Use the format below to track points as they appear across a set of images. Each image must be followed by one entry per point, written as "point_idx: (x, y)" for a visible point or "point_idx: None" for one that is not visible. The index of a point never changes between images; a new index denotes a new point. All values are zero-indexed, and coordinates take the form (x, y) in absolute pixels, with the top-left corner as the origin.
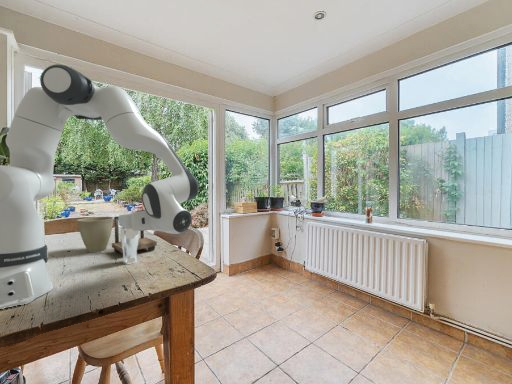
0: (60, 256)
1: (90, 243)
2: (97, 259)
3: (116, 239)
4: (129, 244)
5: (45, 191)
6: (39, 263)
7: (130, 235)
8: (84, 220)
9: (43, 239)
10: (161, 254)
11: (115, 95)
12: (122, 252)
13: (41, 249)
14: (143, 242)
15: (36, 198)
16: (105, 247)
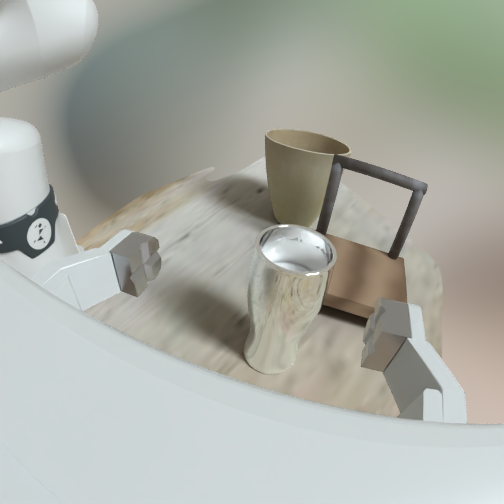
0: (229, 198)
1: (273, 199)
2: (244, 260)
3: (319, 225)
4: (258, 322)
5: (16, 56)
6: (10, 259)
7: (268, 295)
8: (295, 134)
9: (8, 202)
10: (379, 386)
11: None
12: None
13: (2, 230)
14: (372, 290)
15: (5, 80)
16: (306, 224)
